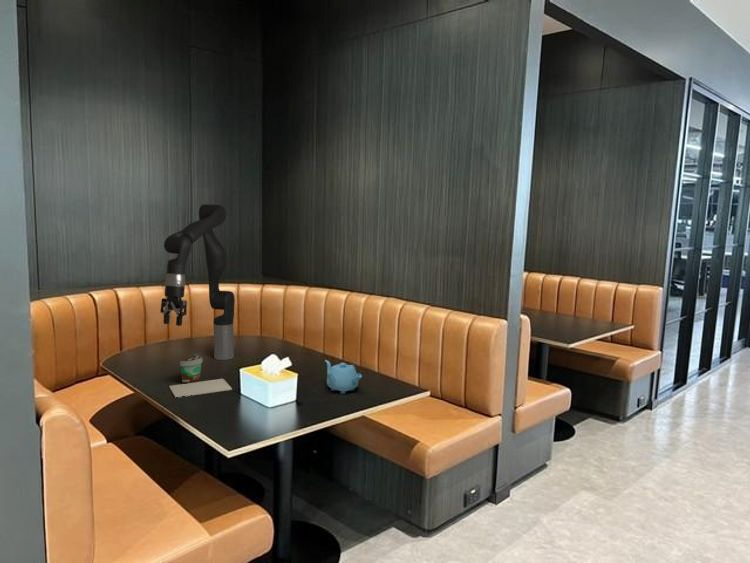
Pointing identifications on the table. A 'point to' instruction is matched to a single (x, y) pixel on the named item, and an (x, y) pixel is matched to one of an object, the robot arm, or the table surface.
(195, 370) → the food container
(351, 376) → the teapot
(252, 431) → the table surface
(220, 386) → the mat
